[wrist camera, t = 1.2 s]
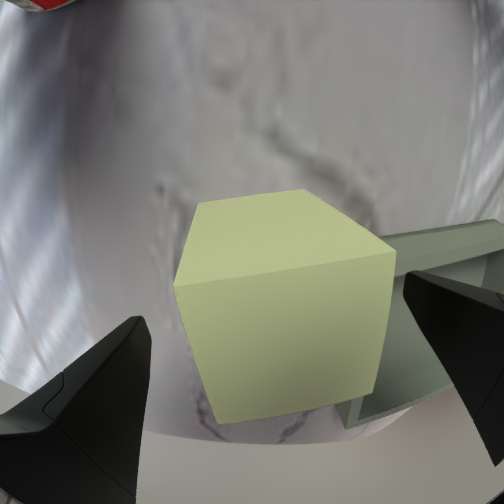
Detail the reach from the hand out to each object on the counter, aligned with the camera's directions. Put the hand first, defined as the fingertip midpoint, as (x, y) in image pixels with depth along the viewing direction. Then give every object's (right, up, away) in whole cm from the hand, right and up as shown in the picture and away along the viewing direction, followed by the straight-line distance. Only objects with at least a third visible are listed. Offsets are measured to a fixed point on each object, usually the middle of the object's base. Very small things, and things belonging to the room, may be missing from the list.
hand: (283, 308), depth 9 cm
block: (-1, +2, +5) cm, 6 cm away
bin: (+11, -3, +9) cm, 14 cm away
